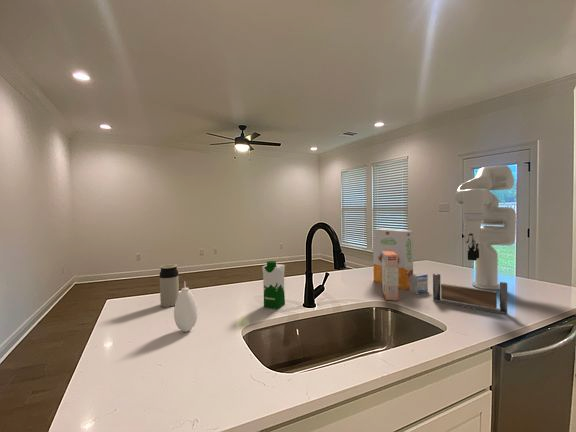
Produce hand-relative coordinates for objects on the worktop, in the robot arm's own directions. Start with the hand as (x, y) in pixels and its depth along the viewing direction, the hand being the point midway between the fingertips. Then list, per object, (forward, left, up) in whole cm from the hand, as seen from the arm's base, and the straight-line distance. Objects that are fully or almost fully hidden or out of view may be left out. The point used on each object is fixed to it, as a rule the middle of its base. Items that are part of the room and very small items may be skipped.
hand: (473, 258), depth 128 cm
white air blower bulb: (+96, -72, -20) cm, 122 cm away
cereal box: (-9, -40, -20) cm, 45 cm away
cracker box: (+13, -32, -20) cm, 40 cm away
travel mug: (+86, -105, -20) cm, 137 cm away
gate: (+7, -1, -18) cm, 19 cm away
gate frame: (+7, -1, -19) cm, 21 cm away
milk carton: (+57, -66, -20) cm, 89 cm away
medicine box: (-3, -24, -20) cm, 31 cm away
